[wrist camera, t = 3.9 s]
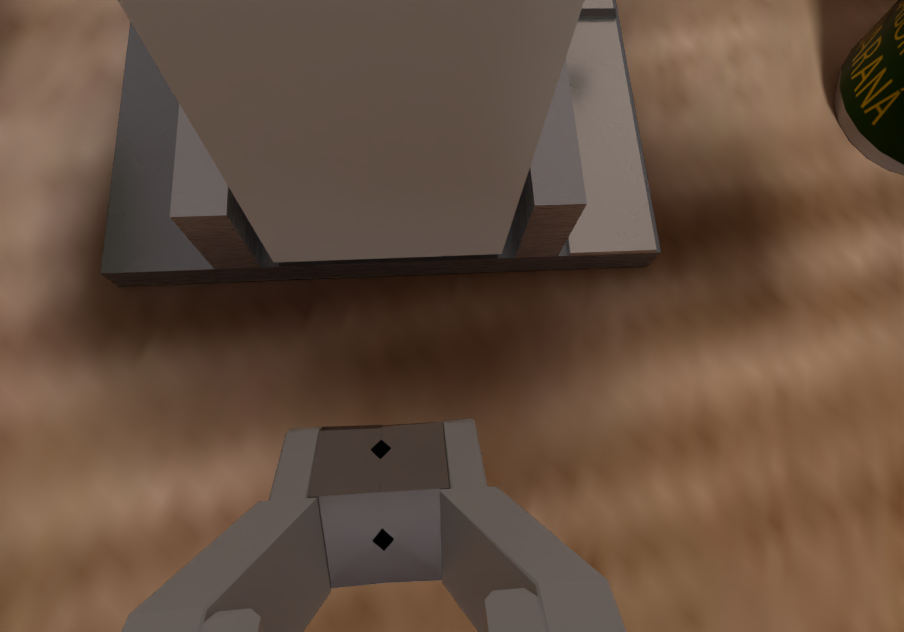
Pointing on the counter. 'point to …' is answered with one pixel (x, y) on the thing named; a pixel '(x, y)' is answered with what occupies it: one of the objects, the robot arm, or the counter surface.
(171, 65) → the plunger
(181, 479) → the counter surface
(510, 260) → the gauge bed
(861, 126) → the green drink can
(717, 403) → the counter surface
